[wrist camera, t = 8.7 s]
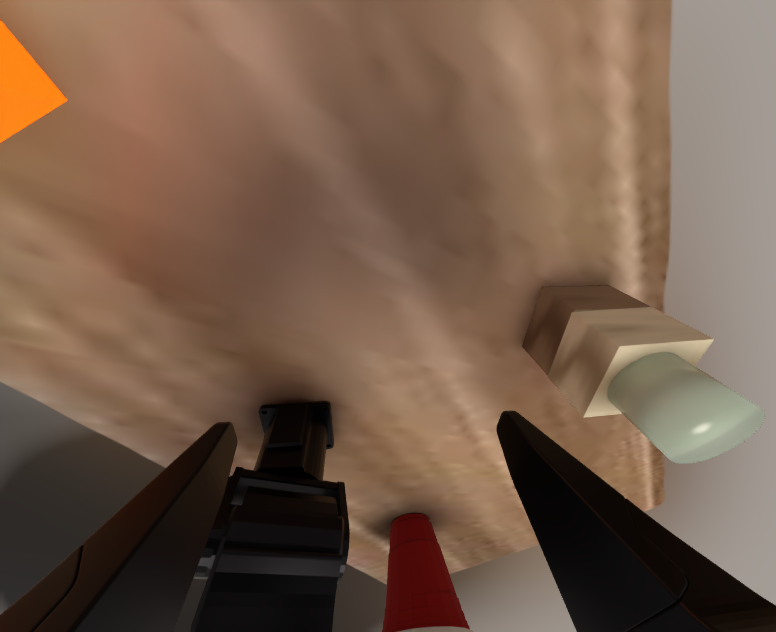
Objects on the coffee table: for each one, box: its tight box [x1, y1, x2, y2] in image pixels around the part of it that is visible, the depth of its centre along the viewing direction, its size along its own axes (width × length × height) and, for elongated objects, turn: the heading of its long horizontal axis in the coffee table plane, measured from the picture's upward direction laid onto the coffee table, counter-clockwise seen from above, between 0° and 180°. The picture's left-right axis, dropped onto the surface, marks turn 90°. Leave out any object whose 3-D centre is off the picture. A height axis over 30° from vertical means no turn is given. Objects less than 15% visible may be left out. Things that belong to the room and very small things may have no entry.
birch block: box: [548, 307, 714, 417], centre depth 19 cm, size 6×6×4 cm
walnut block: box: [522, 286, 650, 375], centre depth 22 cm, size 6×6×4 cm
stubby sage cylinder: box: [607, 352, 765, 464], centre depth 16 cm, size 5×5×4 cm
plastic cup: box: [382, 513, 473, 632], centre depth 35 cm, size 11×11×12 cm
